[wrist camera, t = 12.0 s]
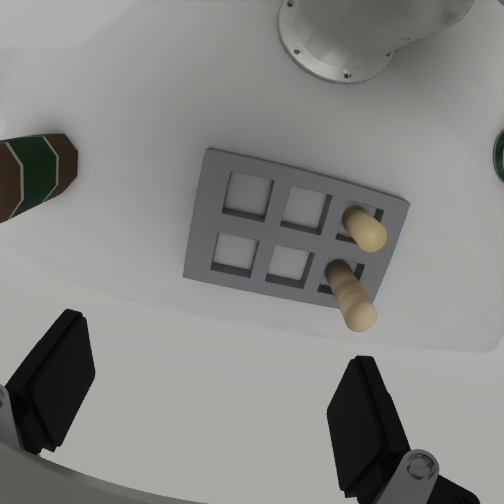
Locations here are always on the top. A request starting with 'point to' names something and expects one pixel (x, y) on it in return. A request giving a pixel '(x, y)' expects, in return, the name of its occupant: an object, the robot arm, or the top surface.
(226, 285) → the peg board
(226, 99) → the top surface
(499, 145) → the canned tomato
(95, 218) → the top surface
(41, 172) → the beer bottle
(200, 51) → the top surface
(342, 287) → the beech pin
